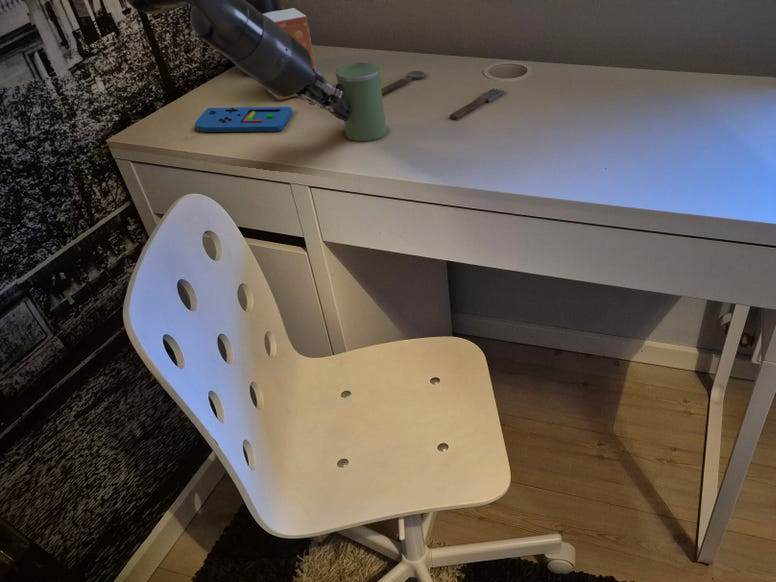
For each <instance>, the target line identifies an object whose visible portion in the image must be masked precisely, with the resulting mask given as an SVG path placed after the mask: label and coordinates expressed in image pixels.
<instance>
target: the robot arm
mask: <svg viewBox="0 0 776 582" xmlns="http://www.w3.org/2000/svg"><path fill="white" fill-rule="evenodd" d="M125 1H126V2H127V3H128V4H129V5H130V6H131V7H132V8H134V9H135V10H136V11H138V12H140V13H142V14H146V15H160V14H163V13H167V12H169V11H172V10H175V9H178V8H182V7H185V6H188V5H189V6H191V9H190V15H189V17H190V24H191V27H192V30H193V31H194V33H195V34H196V36H198V38H200V39H201V40H202V42H205V43H206V44H207V45H208V46H210V47H211V48H213V49H214V50H215V51H217V52H218V53H219V54H221V55H222V56H224V57H225V58H226V59H228V60H229V61H230V62H232V64H234V65H235V66H236V68H238V69H239V70H240V71H242V72H243V74H244V75H245V76H249V77H250V78H252V79H253V80H254V81H256V82H257V83H259V84H260V85H261V86H263V87H264V88H265V89H266V90H267V89H269V90H270V91H271V92H273V93H274V94H276V95H278V96H281V97H287V96H291V95H295V97H297V98H299V99H301V100H302V101H304V102H306V103H308V104H309V105H311V106H312V105H313V106H315V105H316V106H317V107H319V109H321V110H326V111H328V112H329V113H330V114H331V115H333V116H334V117H335V118H337V119H338V120H341V121H343V122H344V121H348V119H349V117H350V114H351V112H352V109H351V107H349V106H348V105H347V104H346V103H344V100H345V97H346V94H345V87H344V86H343V85H342V84H338V83H336V84H331V83H330V82H329V81H328V80H326V79H325V78H324V75H323V74H322V73H321V72H320V71H319V70H317V68H316V69H313V68H312V62H311V57H310V54H309V52H308V51H307V49H306V48H305V47H304V46H302V45H301V44H300V43H299V42H298V41H296V40H295V39H294V38H293V37H292V36H290V35H289V34H288V33H287V32H286V31H285V30H283V29H282V28H281V27H280V26H279V25H277V24H276V23H275V22H274V21H272V20H271V19H270V18H268V17H267V16H265V15H263V14H264V13H268V12H273V11H280V10H283V6H282V1H281V0H125Z"/></svg>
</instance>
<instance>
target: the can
mask: <svg viewBox="0 0 776 582" xmlns="http://www.w3.org/2000/svg"><path fill="white" fill-rule="evenodd" d="M380 73H381V72H380V67H379V66H378V65H376V64H374V63H370V62H353V63H348V64H344V65H341V66H339V67H338V68H336V70H335V77H336V80H337V84H342V85H343V86H344V87H345V94H346V97H345V100H344V103H346V104H347V105H348V106H349V107H351V109H352V112H351V114H350V117H349V119H348V121H344V120H343V125H344V131H345V136H346V137H347V139H349V140H351V141H354V142H371V141H375V140H378V139H381V138H383V137H384V136H385V135H386V134H387V123H386V115H385V107H384V99H383V96H382V90H381V89H382V84H381V83H382V82H381V74H380Z"/></svg>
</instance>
